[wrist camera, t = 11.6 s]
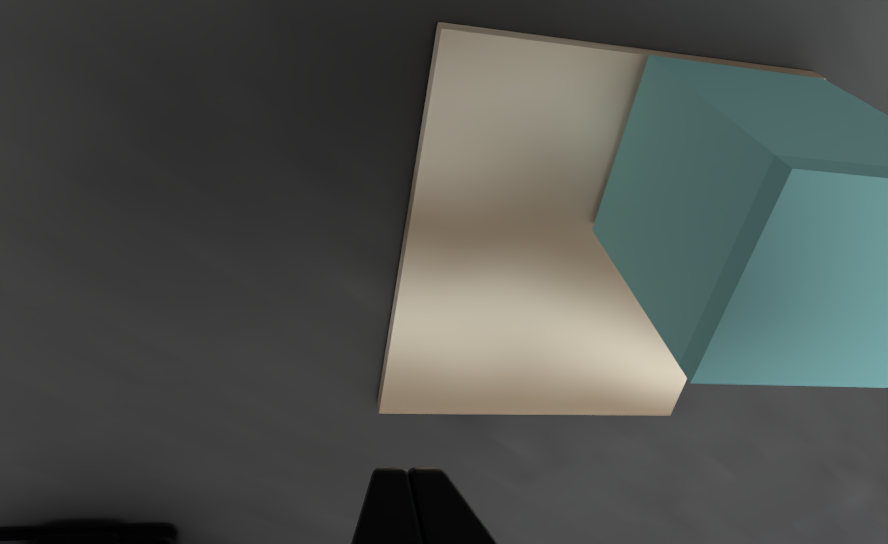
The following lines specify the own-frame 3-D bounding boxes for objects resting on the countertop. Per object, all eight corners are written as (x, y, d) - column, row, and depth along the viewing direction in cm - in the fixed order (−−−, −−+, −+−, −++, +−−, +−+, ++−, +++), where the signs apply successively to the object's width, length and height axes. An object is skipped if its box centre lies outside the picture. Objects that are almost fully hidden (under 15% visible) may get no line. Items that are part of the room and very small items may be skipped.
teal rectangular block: (747, 241, 22) (887, 387, 17) (592, 229, 21) (690, 383, 16) (822, 78, 20) (1020, 191, 14) (649, 55, 18) (792, 168, 13)
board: (663, 404, 27) (669, 415, 27) (377, 401, 25) (378, 413, 24) (813, 71, 20) (826, 78, 20) (437, 21, 18) (441, 28, 18)
